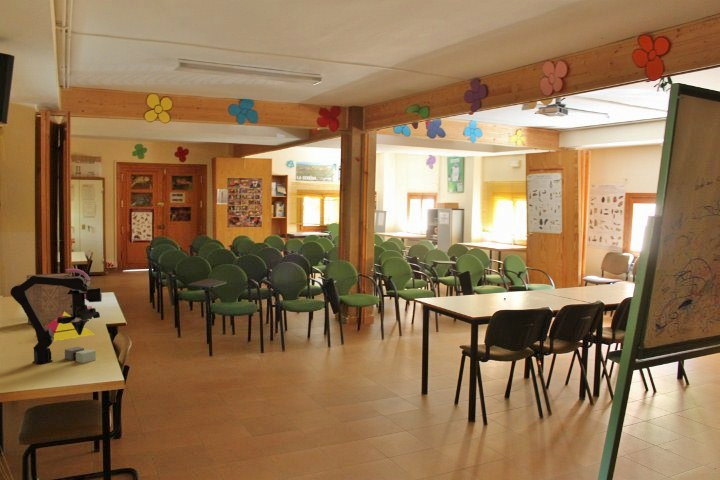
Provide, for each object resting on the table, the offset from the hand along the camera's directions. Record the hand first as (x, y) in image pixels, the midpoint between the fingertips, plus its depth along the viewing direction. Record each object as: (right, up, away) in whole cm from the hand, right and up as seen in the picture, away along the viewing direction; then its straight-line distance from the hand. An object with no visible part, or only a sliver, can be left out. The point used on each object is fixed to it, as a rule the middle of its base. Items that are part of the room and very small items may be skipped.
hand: (79, 334), depth 286 cm
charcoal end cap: (-4, -12, +3) cm, 13 cm away
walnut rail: (0, -12, +1) cm, 12 cm away
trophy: (-63, -4, +126) cm, 141 cm away
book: (-61, -6, +89) cm, 108 cm away
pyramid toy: (-33, -9, +53) cm, 63 cm away
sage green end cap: (+4, -12, -2) cm, 13 cm away
